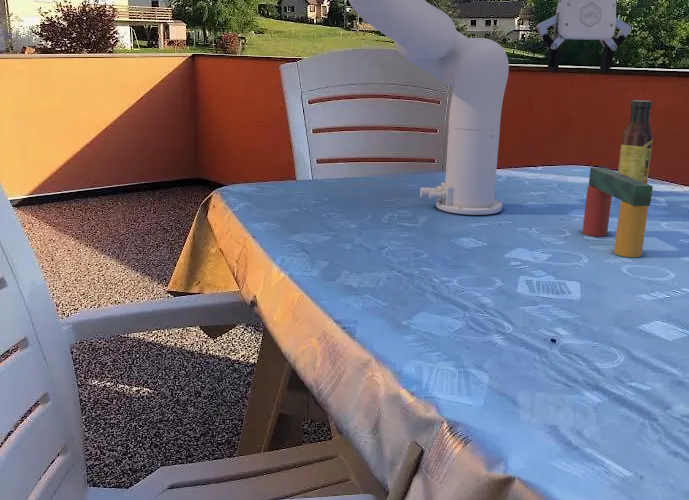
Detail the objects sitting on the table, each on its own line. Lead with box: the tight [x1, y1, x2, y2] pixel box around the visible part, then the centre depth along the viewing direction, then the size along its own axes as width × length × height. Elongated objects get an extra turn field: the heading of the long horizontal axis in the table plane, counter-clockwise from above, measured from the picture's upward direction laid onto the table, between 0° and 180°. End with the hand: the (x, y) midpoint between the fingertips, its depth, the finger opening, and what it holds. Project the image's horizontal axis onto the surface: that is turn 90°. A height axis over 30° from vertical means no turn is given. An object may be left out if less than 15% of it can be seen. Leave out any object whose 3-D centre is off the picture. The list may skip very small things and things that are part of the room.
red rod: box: [582, 185, 613, 237], centre depth 119 cm, size 4×4×8 cm
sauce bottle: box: [617, 99, 654, 184], centre depth 152 cm, size 7×6×20 cm
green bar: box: [588, 167, 654, 207], centre depth 112 cm, size 16×3×3 cm, turn 5°
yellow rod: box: [613, 200, 650, 258], centre depth 108 cm, size 4×4×8 cm
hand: (578, 72), depth 133 cm, fingers open, 9 cm apart
